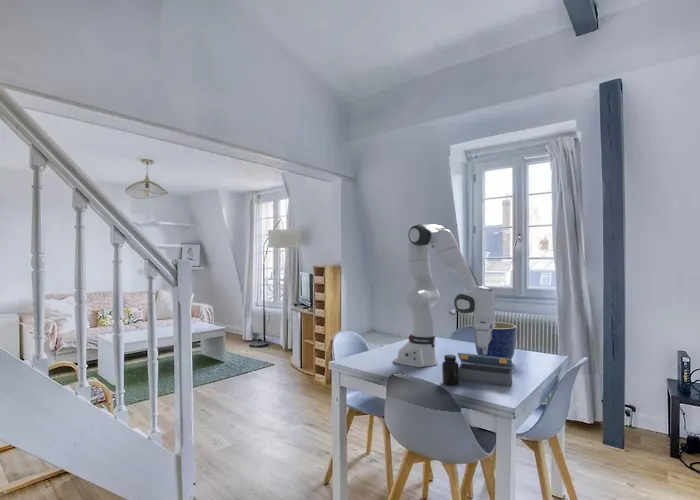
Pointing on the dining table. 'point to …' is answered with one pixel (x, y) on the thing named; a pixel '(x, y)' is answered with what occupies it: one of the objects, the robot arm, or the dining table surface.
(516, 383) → the dining table surface
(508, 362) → the cover
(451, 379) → the supplement bottle
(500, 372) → the grey rectangular open box
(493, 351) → the planter
